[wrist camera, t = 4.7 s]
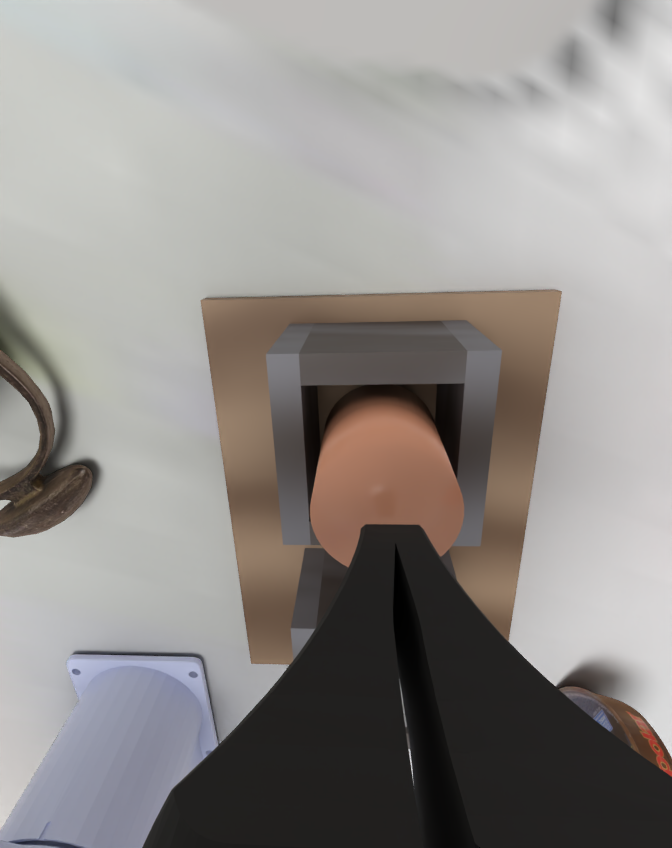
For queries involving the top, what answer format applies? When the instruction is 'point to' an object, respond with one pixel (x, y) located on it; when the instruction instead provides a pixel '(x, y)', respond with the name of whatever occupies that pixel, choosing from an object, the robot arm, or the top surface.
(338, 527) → the terracotta plunger
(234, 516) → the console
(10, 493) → the brown curved piece
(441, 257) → the top surface
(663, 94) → the top surface
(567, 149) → the top surface
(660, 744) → the tin
